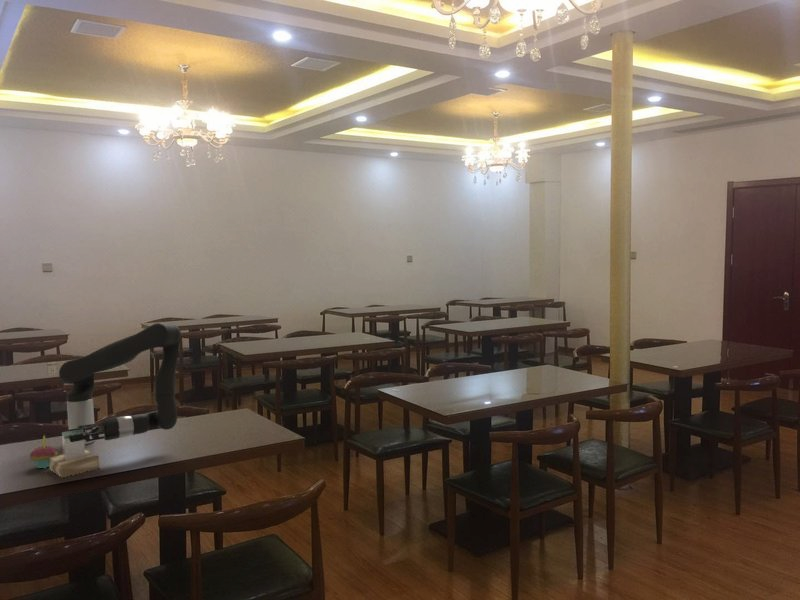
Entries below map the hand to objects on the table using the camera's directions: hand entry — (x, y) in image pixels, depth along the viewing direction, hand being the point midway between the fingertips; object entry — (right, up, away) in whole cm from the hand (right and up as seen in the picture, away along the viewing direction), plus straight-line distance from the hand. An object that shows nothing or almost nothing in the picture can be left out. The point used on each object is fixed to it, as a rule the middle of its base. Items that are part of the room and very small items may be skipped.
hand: (67, 436), depth 221 cm
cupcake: (-11, -12, +6) cm, 17 cm away
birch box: (+1, -12, +2) cm, 13 cm away
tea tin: (+1, -7, +2) cm, 8 cm away
